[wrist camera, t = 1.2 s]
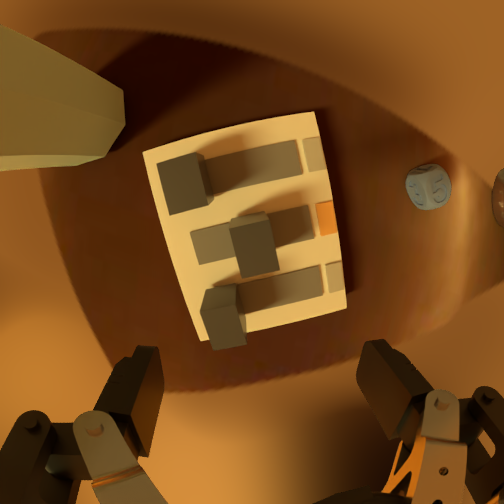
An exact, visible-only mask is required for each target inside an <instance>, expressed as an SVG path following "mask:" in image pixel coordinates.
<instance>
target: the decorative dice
mask: <svg viewBox="0 0 504 504" xmlns="http://www.w3.org/2000/svg"><path fill="white" fill-rule="evenodd" d="M406 189H407V192H408V195H409V197H410V199H411V200H412V202H413V203H414V204H415V205H416V206H417V207H418V208H420V209H422V210H431V209H436V208H439V207H441V206H443V205H445V204H446V203H447V202H448V200H449V198H450V195H451V182H450V179H449V176H448V174H447V173H446V171H445V170H444V169H443V168H442V167H441V166H439V165H438V164H428V165H423V166H420V167H417V168H415V169H413V170H411V171H410V172H409V173H408V175H407V178H406Z"/></svg>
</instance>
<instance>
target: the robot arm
mask: <svg viewBox="0 0 504 504" xmlns="http://www.w3.org/2000/svg"><path fill="white" fill-rule="evenodd" d="M492 205H493V212H494V216H495V219H496V221H497V222H498V224H499V225H500V226H502V227H504V169H502V170H501V171H500V172H499V173H498V175H497V176H496V179H495V182H494V186H493V193H492ZM356 379H357V383H358V386H359V387H360V389H361V391H362V393H363V394H364V396H365V398H366V400H367V402H368V403H369V405H370V407H371V408H372V410H373V412H374V414H375V416H376V417H377V419H378V421H379V423H380V425H381V426H382V428H383V430H384V432H385V434H386V435H387V437H388V439H389V440H391V439H394V438H397V437H401V439H402V441H401V443H400V444H399V447H398V451H397V454H396V458H395V461H394V464H393V468H392V471H391V474H390V477H389V480H388V482H387V484H386V486H385V487H384V489H383V491H382V492H372V491H371V489H370V486H369V485H367V486H364V487H360V488H357V489H353V490H349V491H345V492H341V493H337V494H334V495H332V496H330V497H328V498H325V499H323V500H321V501H318V502H316V503H313V504H462V497H463V491H464V484H466V486H467V488H468V490H469V492H470V494H471V495H472V497H473V499H474V501H475V503H476V504H504V398H503V397H502V396H501V395H500V394H499V393H498V392H497V391H496V390H495V389H493V388H491V387H488V386H481V387H478V388H477V389H476V390H475V392H474V394H473V395H472V397H471V398H466V399H457V397H456V396H455V395H454V394H452V393H451V392H449V391H446V390H441V389H440V390H439V389H438V390H434V389H433V387H432V386H431V385H430V384H429V383H428V382H427V380H426V379H425V378H424V377H423V376H422V374H421V373H420V372H419V371H418V370H416V368H415V366H414V365H413V364H411V362H410V361H409V359H408V358H407V357H406V356H405V355H404V354H402V353H401V352H399V351H397V350H395V349H392V347H391V346H390V345H389V344H388V343H387V342H386V340H384V339H379V340H372V341H366V342H365V344H364V346H363V350H362V353H361V357H360V361H359V364H358V368H357V373H356ZM163 393H164V376H163V371H162V365H161V360H160V354H159V349H158V347H154V346H140V345H138V346H137V347H136V349H135V351H134V354H133V356H132V358H131V357H124V358H123V359H122V360H121V361H119V362H118V363H117V364H116V365H115V367H114V369H113V371H112V373H111V375H110V377H109V379H108V381H107V383H106V385H105V387H104V389H103V391H102V393H101V395H100V397H99V399H98V401H97V403H96V405H95V407H94V409H93V411H88V412H85V413H83V414H81V415H79V416H78V417H77V418H76V420H75V421H74V423H51V421H50V420H49V418H48V416H47V415H46V414H44V413H43V412H41V411H36V410H32V411H27V412H25V413H23V414H22V415H21V416H19V418H18V419H17V421H16V422H15V424H14V426H13V428H12V430H11V431H10V433H9V435H8V437H7V439H6V441H5V443H4V445H3V446H2V448H1V450H0V504H75V503H76V499H77V495H78V491H79V487H80V483H81V480H93V483H92V488H93V490H94V492H95V495H96V497H97V498H98V501H99V502H100V504H168V503H167V502H166V500H165V499H164V498H163V496H162V495H161V494H160V492H159V491H158V490H157V488H156V487H155V485H154V484H153V483H152V481H151V480H150V478H149V477H148V475H147V474H146V472H145V471H144V470H143V468H142V467H141V466H140V465H139V463H138V462H137V460H138V456H142V457H148V456H149V452H150V448H151V443H152V439H153V434H154V430H155V426H156V421H157V417H158V413H159V409H160V405H161V401H162V397H163ZM483 430H485V432H486V433H487V434H488V436H489V437H490V439H491V440H492V442H493V443H494V444H495V449H496V450H495V454H494V456H493V457H492V458H491V457H490V456H489V454H488V453H487V451H486V450H485V448H484V446H483V445H482V444H481V442H480V441H479V439H478V437H479V436H480V434H481V433H482V432H483Z"/></svg>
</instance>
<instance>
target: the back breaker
mask: <svg viewBox="0 0 504 504" xmlns="http://www.w3.org/2000/svg"><path fill="white" fill-rule="evenodd" d="M200 315H201V318H202V320H203V323H204V326H205V329H206V332H207V334H208V337H209V340H210V342H211V345H212V348H213V350H220V349H225V348H231V347H236V346H241V345H246V344H247V328H246V316H245V313H244V309H243V306H242V302H241V298H240V295H239V291H238V287H237V284H236V283H233V284H228V285H224V286H219V287H215V288H210V289H206V290H205V294H204V297H203V301H202V305H201V308H200Z"/></svg>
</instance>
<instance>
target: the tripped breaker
mask: <svg viewBox="0 0 504 504" xmlns="http://www.w3.org/2000/svg"><path fill="white" fill-rule="evenodd" d="M229 231H230V235H231V239H232V243H233V247H234V251H235V255H236V259H237V263H238V267H239V270H240V274H241V278H242V279H244V278H249V277H253V276H257V275H262V274H266V273H270V272H275V271H279V270H280V267H279V262H278V257H277V252H276V248H275V243H274V238H273V234H272V229H271V225H270V220H269V218H268V216H267V214H266V213H265V211H261V212H256V213H252V214H248V215H243V216H239V217H235V218H231V221H230V226H229Z"/></svg>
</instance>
